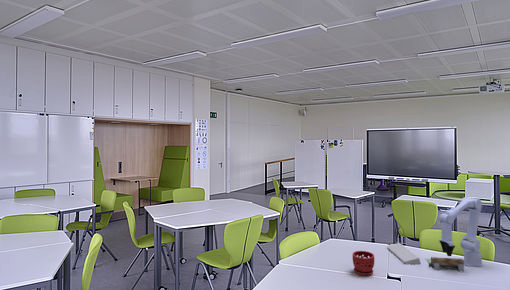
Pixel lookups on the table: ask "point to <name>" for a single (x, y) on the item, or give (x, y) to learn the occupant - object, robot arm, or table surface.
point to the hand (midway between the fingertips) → (447, 253)
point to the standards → (447, 266)
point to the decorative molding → (404, 254)
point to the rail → (447, 261)
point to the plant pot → (363, 262)
